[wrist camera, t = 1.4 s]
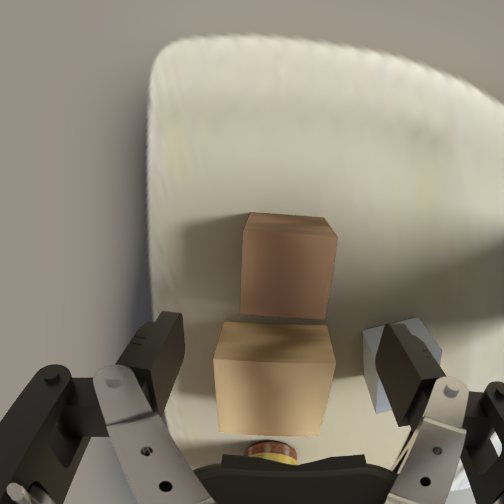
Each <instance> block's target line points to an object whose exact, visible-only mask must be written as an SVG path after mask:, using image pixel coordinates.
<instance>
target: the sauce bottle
mask: <svg viewBox="0 0 504 504" xmlns="http://www.w3.org/2000/svg"><path fill="white" fill-rule="evenodd" d="M244 456H249V457H260V458H264V459H269V460H273V461H277V462H282V463H286V464H291V465H299V464H298V462H297V453H296V451H295V449H293V448H292V447H291V446H289V445H286V444H284V443H278V442H263V443H258V444H255V445H253V446H251V447H250V448H248V449H247V450H246V451H245V454H244Z"/></svg>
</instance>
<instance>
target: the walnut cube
mask: <svg viewBox="0 0 504 504" xmlns="http://www.w3.org/2000/svg"><path fill="white" fill-rule="evenodd" d="M337 239H338V237H337V236H336V234H335V233H334V231H333V230H332V228H331V227H330V226H329V224H328V223H327V221H326V220H325V218H321V217H309V216H296V215H283V214H269V213H255V212H250V215H249V217H248V220H247V222H246V225H245V227H244V230H243V245H242V268H241V292H240V314H244V315H257V316H270V317H284V318H301V319H320V320H325V316H326V310H327V305H328V299H329V293H330V287H331V281H332V274H333V268H334V261H335V254H336V247H337Z"/></svg>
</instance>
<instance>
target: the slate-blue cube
mask: <svg viewBox="0 0 504 504" xmlns="http://www.w3.org/2000/svg"><path fill="white" fill-rule="evenodd" d="M401 323H403V324H405V325H406V327H407V328H408V330H409V331H410V332H411V334H412V335H415V336H417V337H418V338H419V339H421V340H422V341H423V342H424V343H425V345H426V346H427V348H428V349H429V351H430V352H431V354H432V355H433V357H434V358H435V360H436V361H437V363H438V364H439V366H440V360H441V354H442V350H441V348H440V347H439V345H438V344H437V342H436V341H435V340H434V338H433V337H432V335H431V334H430V333H429V331H428V330H427V328H426V327H425V326H424V324H423V323H422V322H421V320H420V319H419V317H416V318H412V319H408V320H404V321H400V322H396V323H392V324H401ZM384 327H385V325H383V326H379V327H375V328H370V329H365V330H363V363H364V378H365V381H366V384H367V387H368V390H369V393H370V396H371V400H372V403H373V406H374V409H375V413H376V414H377V413H381V412H385V411H389V410H392V408H391V406H390V403H389V400H388V398H387V395H386V393H385V390H384V388H383V385H382V383H381V381H380V378H379V376H378V373H377V371H376V368H375V357H376V353H377V350H378V346H379V343H380V340H381V336H382V333H383V329H384Z"/></svg>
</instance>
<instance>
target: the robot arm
mask: <svg viewBox="0 0 504 504" xmlns="http://www.w3.org/2000/svg"><path fill="white" fill-rule="evenodd" d="M184 353H185V343H184V330H183V317H182V314H181V313H176V312H167V311H162V312H161V314H160V315H159V317H158V318H157V320H156V322H155V323H154V322H148V323H146V324H145V325H143V326H142V327H140V328H139V329H138V331H137V332H136V334H135V335H134V337H133V338H132V340H131V341H130V344H128V346H127V347H126V349H125V350H124V352H123V353H122V355H121V356H120V358H119V360H118V361H117V363H116V364H115V365H109V366H105V367H103V368H101V369H100V370H98V371H97V372H96V373H95V375H94V377H93V378H72V376H71V373H70V371H69V370H68V368H66V367H64V366H62V365H48V366H46V367H43V368H42V369H40V370H39V371H38V372H37V373H36V374H35V375H34V377H33V378H32V380H31V381H30V382H29V383H28V385H27V386H26V387H25V389H24V390H23V391H22V393H21V394H20V395H19V397H18V398H17V399H16V401H15V402H14V404H13V405H12V406H11V408H10V409H9V410H8V412H7V413H6V415H5V416H4V418H3V419H2V420H1V422H0V504H63V502H64V500H65V497H66V495H67V492H68V490H69V487H70V485H71V482H72V480H73V478H74V475H75V473H76V470H77V468H78V466H79V463H80V461H81V459H82V456H83V454H84V452H85V449H86V447H87V445H88V443H89V441H90V438H91V437H110V439H111V442H112V444H113V447H114V450H115V452H116V455H117V457H118V460H119V462H120V464H121V467H122V469H123V472H124V474H125V476H126V478H127V480H128V483H129V485H130V487H131V489H132V491H133V494H134V496H135V498H136V500H137V502H138V504H445V502H446V499H447V497H448V494H449V491H450V488H451V485H452V482H453V479H454V476H455V473H456V470H457V466H458V463H459V460H460V458H461V461H462V464H463V466H464V469H465V472H466V475H467V477H468V480H469V483H470V486H471V489H472V492H473V495H474V498H475V501H476V504H504V383H502V382H491V383H489V384H488V386H487V387H486V389H485V391H484V393H482V392H470V391H469V390H468V388H467V386H466V385H465V384H464V383H463V382H462V381H461V380H459V379H457V378H454V377H447V376H446V375H445V373H444V372H443V370H442V369H441V367H440V366H439V364H438V363H437V361H436V360H435V358H434V357H433V355H432V354H431V352H430V351H429V349H428V348H427V346H426V345H425V343H424V342H423V341H422V340H421V339H419V338H418V337H417V336H415V335H412V334H411V332H410V331H409V330H408V328H407V327H406V325H405V324H403V323H401V324H386V325H385V327H384V329H383V333H382V336H381V340H380V343H379V346H378V350H377V353H376V357H375V368H376V371H377V373H378V376H379V378H380V381H381V383H382V385H383V388H384V390H385V393H386V395H387V398H388V400H389V403H390V406H391V408H392V411H393V413H394V416H395V419H396V421H397V424H398V426H399V427H401V426H408V425H410V427H411V430H410V432H409V433H408V435H407V437H406V439H405V442H404V444H403V446H402V448H401V450H400V452H399V454H398V456H397V458H396V460H395V461H394V463H393V465H392V467H391V469H390V470H388V469H386V468H383V467H380V466H377V465H372V464H366V460H365V456H364V454H363V455H353V456H340V457H330V458H326V459H322V460H318V461H314V462H310V463H306V464H301V465H291V464H286V463H282V462H277V461H273V460H269V459H264V458H260V457H249V456H236V455H225V454H223V456H222V463H221V464H213V465H208V466H204V467H201V468H197V469H195V470H192V469H191V467H190V466H189V464H188V463H187V461H186V460H185V458H184V456H183V455H182V453H181V452H180V450H179V448H178V447H177V445H176V444H175V442H174V440H173V439H172V437H171V435H170V434H169V432H168V430H167V428H166V427H165V425H164V423H163V421H162V420H161V417H162V414H163V412H164V409H165V406H166V404H167V401H168V398H169V396H170V393H171V391H172V388H173V385H174V383H175V380H176V377H177V375H178V372H179V370H180V367H181V364H182V362H183V359H184ZM495 431H496V433H497V435H498V437H499V439H500V441H501V443H502V452H501V455H500V456H499V457H498V455H497V453H496V450H495V448H494V446H493V444H492V442H491V440H490V437H491V436H492V434H493V433H494V432H495Z"/></svg>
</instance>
